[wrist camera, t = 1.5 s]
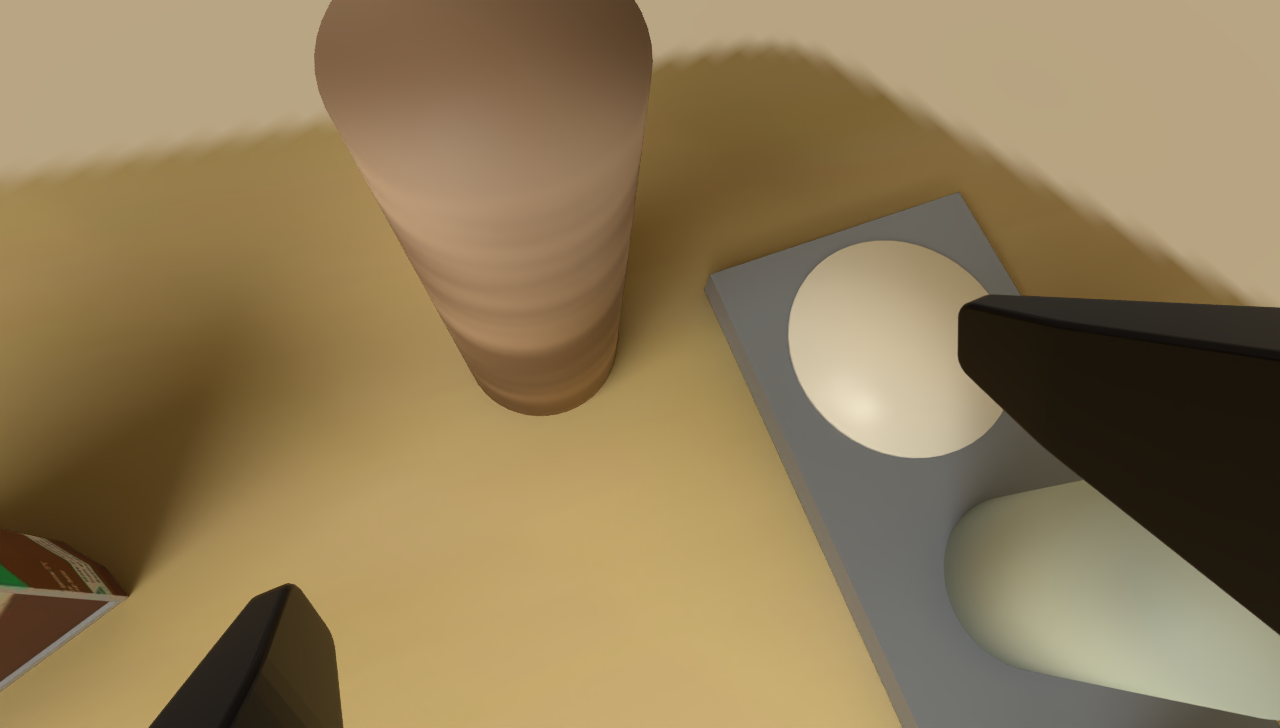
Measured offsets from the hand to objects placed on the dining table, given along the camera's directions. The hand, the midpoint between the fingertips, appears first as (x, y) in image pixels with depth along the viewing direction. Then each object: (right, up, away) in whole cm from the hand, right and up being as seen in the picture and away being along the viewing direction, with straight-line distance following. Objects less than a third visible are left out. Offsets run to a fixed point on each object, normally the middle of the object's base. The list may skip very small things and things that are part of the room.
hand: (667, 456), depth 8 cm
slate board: (+11, -5, +13) cm, 18 cm away
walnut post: (-4, +2, +14) cm, 14 cm away
